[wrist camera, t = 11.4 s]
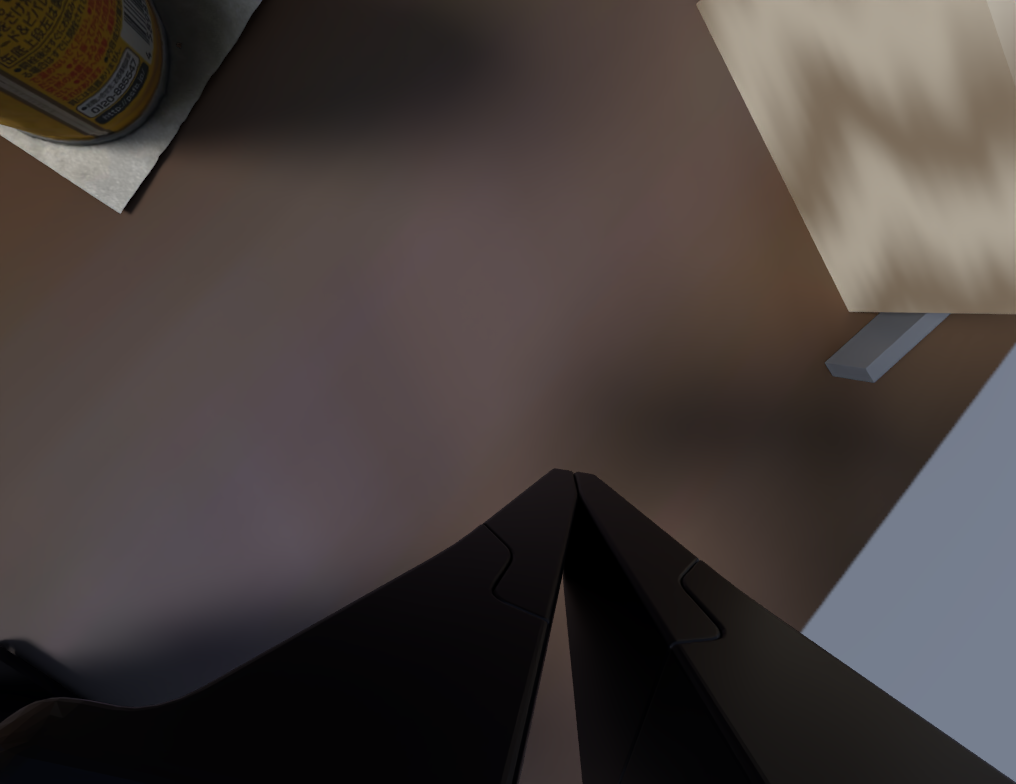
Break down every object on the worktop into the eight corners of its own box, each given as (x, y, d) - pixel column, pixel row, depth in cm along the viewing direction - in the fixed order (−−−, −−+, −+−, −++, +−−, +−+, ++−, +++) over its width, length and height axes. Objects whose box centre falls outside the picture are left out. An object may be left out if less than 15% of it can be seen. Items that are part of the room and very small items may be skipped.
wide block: (694, 6, 18) (911, -223, 10) (835, -101, 18) (1150, -402, 10) (846, 311, 21) (1091, 315, 14) (961, 217, 22) (1265, 169, 14)
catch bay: (836, 382, 22) (991, 410, 16) (569, -56, 16) (654, -252, 11) (1007, 228, 22) (1218, 201, 16) (798, -249, 17) (1003, -540, 11)
